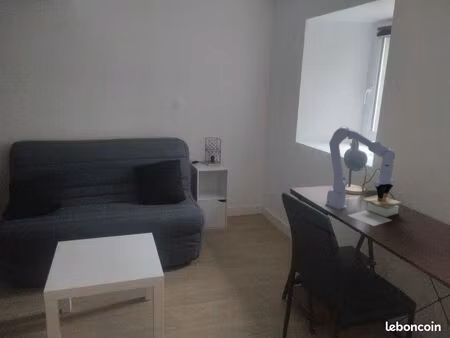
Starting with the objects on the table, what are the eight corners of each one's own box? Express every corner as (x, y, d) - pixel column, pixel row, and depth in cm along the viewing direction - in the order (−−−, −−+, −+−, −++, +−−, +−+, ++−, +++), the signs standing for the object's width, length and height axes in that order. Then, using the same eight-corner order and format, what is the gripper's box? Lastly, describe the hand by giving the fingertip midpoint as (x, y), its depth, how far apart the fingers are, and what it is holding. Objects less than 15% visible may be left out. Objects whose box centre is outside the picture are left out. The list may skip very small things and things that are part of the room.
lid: (361, 200, 183) (362, 191, 182) (377, 196, 191) (378, 188, 190) (385, 207, 172) (387, 198, 171) (401, 203, 179) (403, 194, 178)
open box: (366, 210, 186) (367, 203, 185) (378, 207, 192) (379, 200, 191) (385, 217, 177) (386, 209, 176) (397, 214, 183) (398, 206, 182)
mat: (346, 215, 178) (346, 215, 178) (365, 210, 186) (365, 210, 186) (373, 226, 165) (373, 226, 165) (392, 220, 174) (392, 220, 174)
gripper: (384, 175, 170) (380, 202, 174) (401, 172, 178) (397, 197, 181) (372, 172, 176) (368, 197, 179) (388, 169, 184) (384, 194, 187)
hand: (382, 197), depth 181 cm, fingers closed on lid, 3 cm apart
